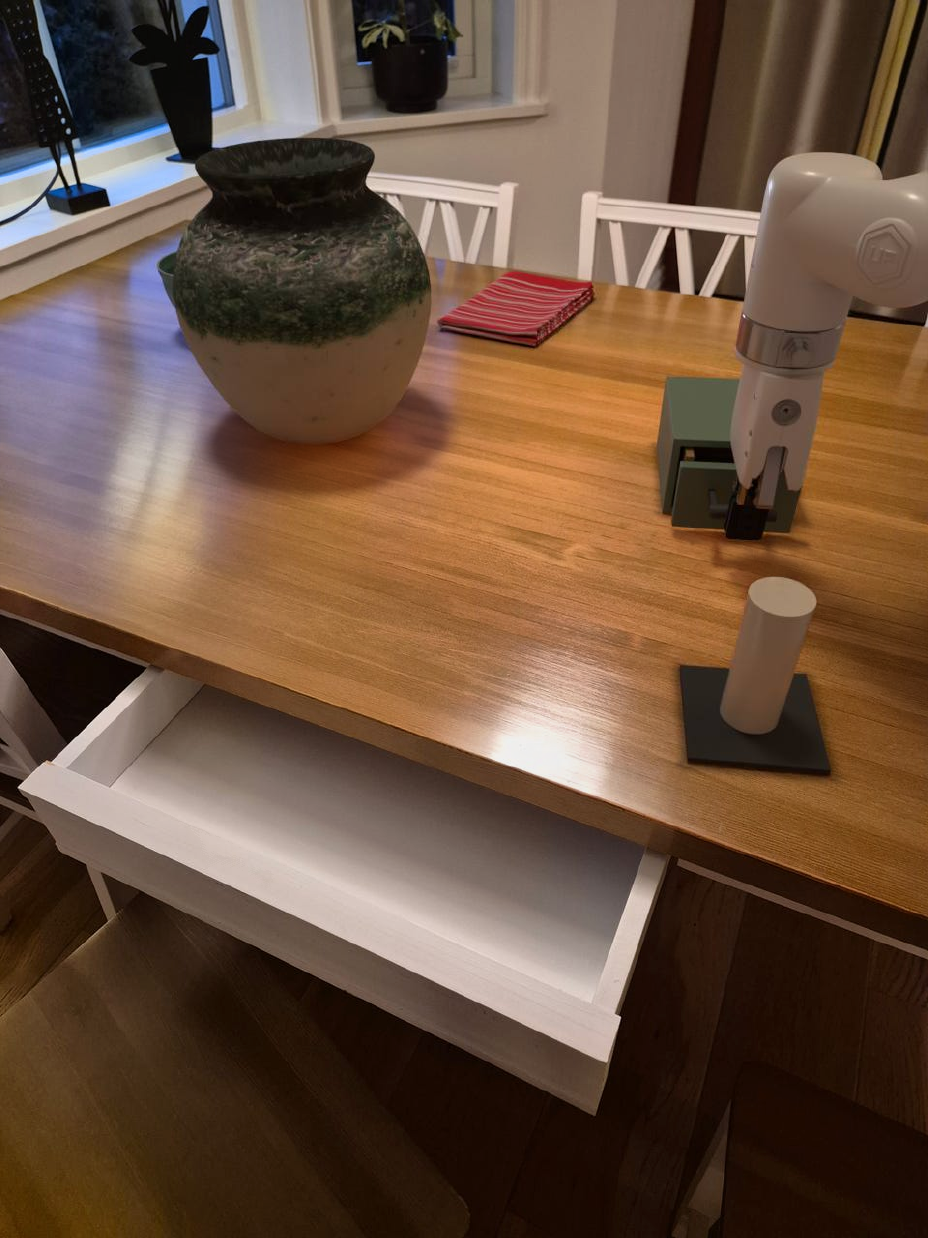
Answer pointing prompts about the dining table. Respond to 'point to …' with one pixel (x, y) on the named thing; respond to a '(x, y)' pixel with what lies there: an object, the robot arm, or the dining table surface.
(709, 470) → the drawer
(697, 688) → the mat
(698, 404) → the cabinet
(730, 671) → the cylinder
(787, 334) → the robot arm
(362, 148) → the vase
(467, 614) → the dining table surface
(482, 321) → the dish towel
